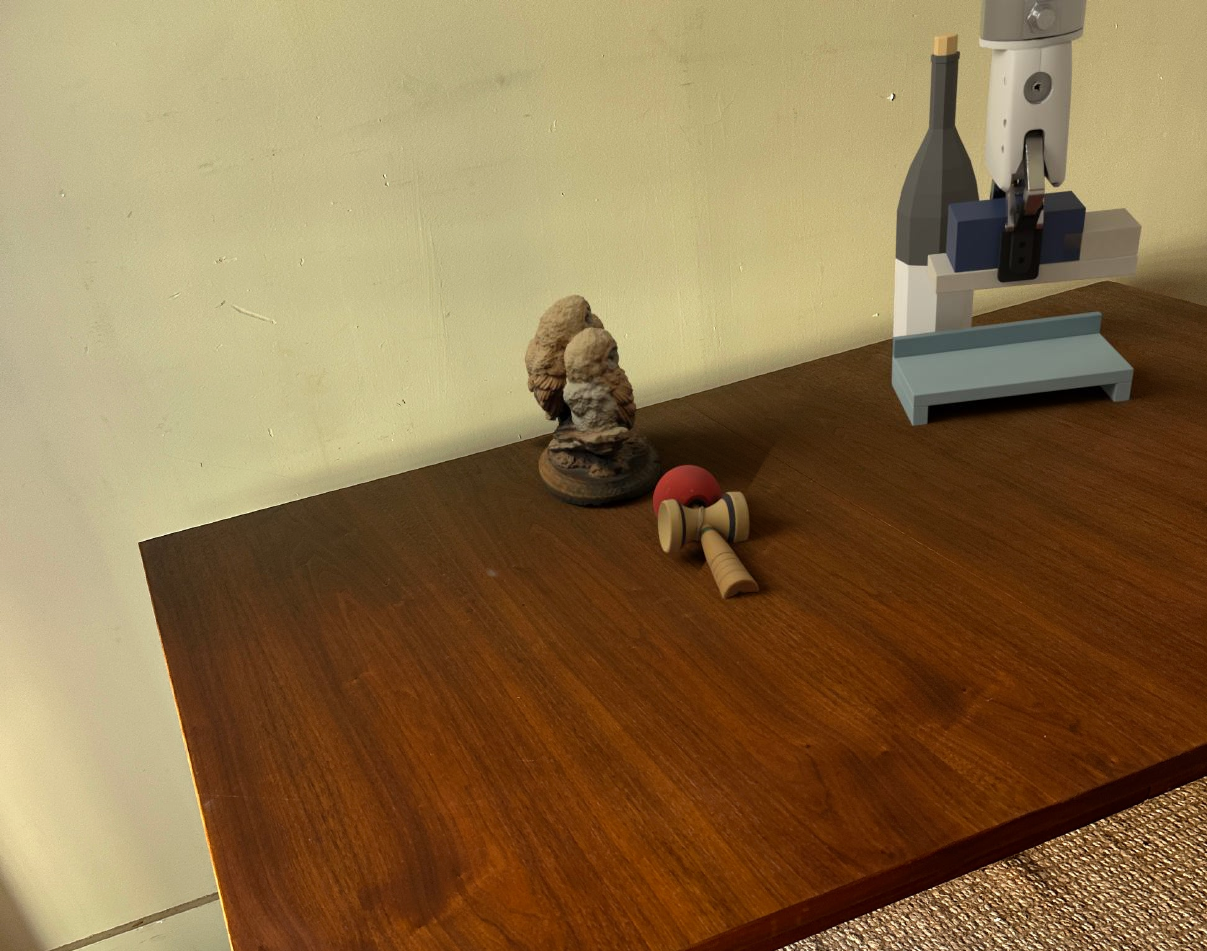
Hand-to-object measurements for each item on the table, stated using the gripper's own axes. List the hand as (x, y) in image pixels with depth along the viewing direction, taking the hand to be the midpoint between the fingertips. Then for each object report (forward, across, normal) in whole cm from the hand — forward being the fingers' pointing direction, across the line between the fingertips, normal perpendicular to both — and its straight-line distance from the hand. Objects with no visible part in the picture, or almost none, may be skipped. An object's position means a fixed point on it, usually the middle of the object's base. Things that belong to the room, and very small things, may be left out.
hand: (1010, 265), depth 101 cm
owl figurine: (+16, 0, +37) cm, 41 cm away
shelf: (+16, +8, -2) cm, 18 cm away
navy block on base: (+1, 0, -2) cm, 2 cm away
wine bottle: (+16, +23, +3) cm, 29 cm away
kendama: (+16, -19, +26) cm, 36 cm away
